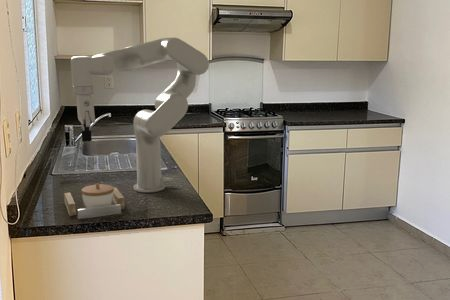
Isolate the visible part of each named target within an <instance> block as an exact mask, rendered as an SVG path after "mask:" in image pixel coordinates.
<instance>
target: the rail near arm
mask: <svg viewBox="0 0 450 300" xmlns="http://www.w3.org/2000/svg"><path fill="white" fill-rule="evenodd" d="M113 188H114V191H113V193H114V195H113V202H112V203H113V204H114V205H115V204H120V205H121V210H125V197H124V196H123V194H122V193H121V192H120V190H119V189H118V188H117V187H113Z"/></svg>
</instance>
